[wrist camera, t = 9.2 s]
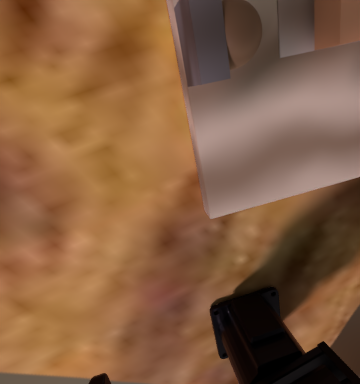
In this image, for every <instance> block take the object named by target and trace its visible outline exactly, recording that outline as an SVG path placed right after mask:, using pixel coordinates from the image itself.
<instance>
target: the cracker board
mask: <svg viewBox="0 0 360 384" xmlns="http://www.w3.org/2000/svg"><path fill="white" fill-rule="evenodd" d="M166 1H167V6H168V12H169V17H170V23H171V28H172V34H173V39H174V45H175V50H176V56H177V61H178V67H179V72H180V78H181V83H182V89H183V94H184V100H185V105H186V111H187V116H188V122H189V127H190V133H191V138H192V144H193V149H194V155H195V160H196V166H197V171H198V177H199V182H200V188H201V193H202V199H203V204H204V210H205V212H206V213H207V215H208V216H209V217H210V219H213V218H216V217H220V216H223V215H227V214H230V213H234V212H237V211H241V210H245V209H248V208H252V207H255V206H259V205H262V204H266V203H269V202H273V201H276V200H280V199H283V198H287V197H290V196H294V195H298V194H301V193H305V192H308V191H312V190H315V189H319V188H322V187H326V186H329V185H333V184H336V183H340V182H343V181H347V180H351V179H354V178H358V177H360V41H356V42H352V43H347V44H343V45H338V46H334V47H329V48H324V49H320V50H315V37H314V0H166Z"/></svg>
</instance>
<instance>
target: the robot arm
mask: <svg viewBox="0 0 360 384" xmlns="http://www.w3.org/2000/svg"><path fill="white" fill-rule="evenodd" d="M272 292H273V293H272ZM215 311H216V312H215ZM210 316H211V320H212V325H213V330H214V335H215V340H216V344H217V349H218V354H219V356H220V358H221V359H226V358H229V360H230V362H231V365H232V367H233V370H234V372H235V375H236V377H237V380H238V382H239V384H360V378H359V377H358V376H357V375H356V374H355V373H354V372H353V371H352V370H351V369H350V368H349V367H348V366H347V365H346V364H345V363H344V362H343V361H342V360H341V359H340V357H338V356H337V355H336V353H335V352H334V351H333V350H332V349H331V348H330V347H329V346H328V345H327V344H326V343H325V342H324V341H323V342H321V343H319V344H318V345H317V347H315V348H314V349H312V350H310V351H309V352H307V353H305V352H304V350H303V349H302V347H301V346H300V345H299V343H298V342H297V340H296V339H295V338H294V336H293V335H292V333H291V332H290V331H289V329H288V328H287V326H286V325H285V324H284V322H283V321H282V320H281V318H280V308H279V295H278V291H277V289H276V288H275V287H269V288H266V289H263V290H260V291H257V292H254V293H251V294H247V295H244V296H241V297H238V298H235V299H232V300H229V301H226V302H223V303H220V304H217V305H214V306H212V307H211V308H210ZM89 384H111V382H110V380H109V378H108V376H107V374H106V373H103V374H100V375H97V376H94V377H93V378H92V379H91V380H90V382H89Z"/></svg>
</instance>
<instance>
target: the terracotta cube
mask: <svg viewBox="0 0 360 384" xmlns="http://www.w3.org/2000/svg"><path fill="white" fill-rule="evenodd" d="M314 37H315V50H320V49H324V48H329V47H334V46H338V45H343V44H347V43H352V42H356V41H360V0H314Z"/></svg>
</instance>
